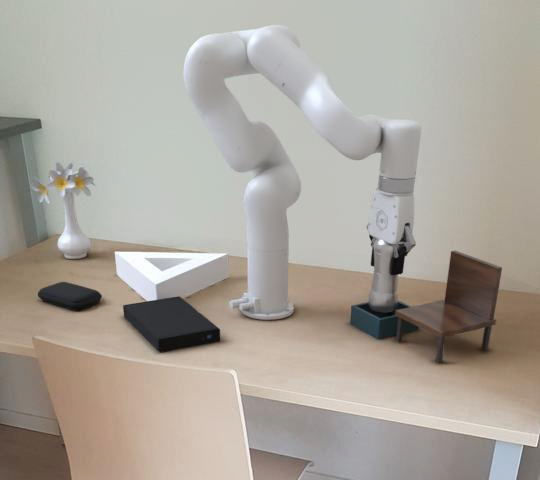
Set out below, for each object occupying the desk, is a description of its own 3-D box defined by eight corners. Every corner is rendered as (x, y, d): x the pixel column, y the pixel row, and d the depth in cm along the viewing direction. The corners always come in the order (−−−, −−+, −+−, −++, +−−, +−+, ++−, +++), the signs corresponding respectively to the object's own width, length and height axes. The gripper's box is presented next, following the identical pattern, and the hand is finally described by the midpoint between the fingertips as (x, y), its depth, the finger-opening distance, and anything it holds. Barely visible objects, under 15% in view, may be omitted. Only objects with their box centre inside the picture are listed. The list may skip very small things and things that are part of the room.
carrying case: (109, 301, 193) (67, 289, 200) (108, 288, 192) (66, 277, 199) (77, 313, 186) (35, 300, 193) (75, 300, 184) (33, 288, 191)
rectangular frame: (378, 339, 174) (379, 319, 172) (349, 324, 182) (351, 305, 179) (418, 329, 179) (420, 310, 177) (389, 315, 187) (391, 296, 184)
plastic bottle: (398, 316, 176) (410, 226, 165) (368, 315, 176) (377, 224, 165) (394, 306, 181) (406, 217, 170) (365, 305, 181) (375, 216, 170)
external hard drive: (180, 308, 189) (180, 296, 188) (220, 341, 172) (220, 328, 170) (124, 317, 184) (122, 305, 182) (159, 352, 166) (158, 339, 165)
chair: (438, 364, 163) (449, 279, 153) (392, 340, 173) (400, 259, 164) (491, 350, 169) (505, 267, 160) (443, 328, 180) (454, 249, 170)
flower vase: (35, 261, 220) (20, 167, 206) (79, 245, 233) (68, 156, 220) (70, 269, 214) (58, 172, 201) (113, 252, 228) (104, 161, 215)
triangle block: (157, 310, 188) (155, 284, 185) (77, 290, 200) (74, 265, 196) (228, 277, 210) (228, 253, 206) (152, 261, 221) (151, 238, 218)
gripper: (357, 177, 168) (349, 261, 178) (408, 195, 156) (397, 284, 166) (384, 175, 172) (375, 256, 181) (437, 192, 159) (425, 279, 169)
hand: (386, 269), depth 173 cm, fingers closed on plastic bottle, 6 cm apart
